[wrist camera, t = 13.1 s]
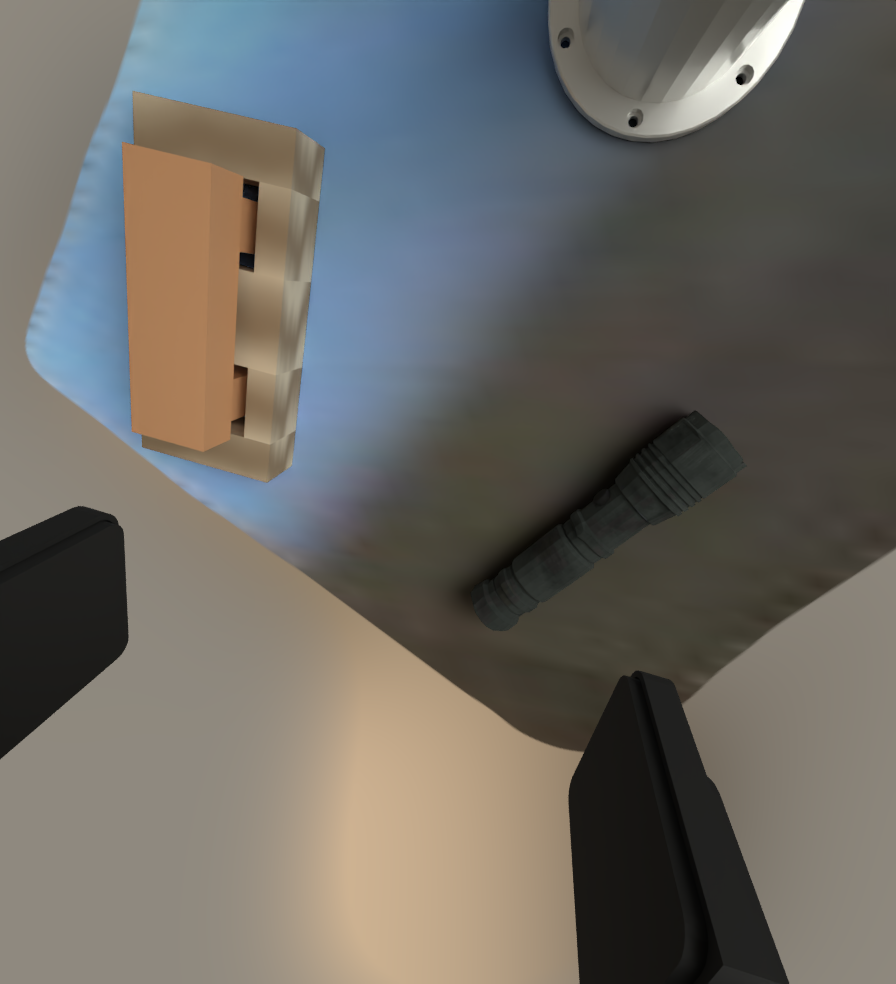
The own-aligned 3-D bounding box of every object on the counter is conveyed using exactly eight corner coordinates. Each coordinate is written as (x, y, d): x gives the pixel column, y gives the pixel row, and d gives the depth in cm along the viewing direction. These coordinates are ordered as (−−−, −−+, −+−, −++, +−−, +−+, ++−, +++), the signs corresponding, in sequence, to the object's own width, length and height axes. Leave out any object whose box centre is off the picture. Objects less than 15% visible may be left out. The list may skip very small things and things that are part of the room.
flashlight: (732, 452, 34) (762, 476, 29) (511, 612, 42) (508, 651, 37) (686, 401, 33) (709, 417, 29) (470, 573, 41) (462, 607, 36)
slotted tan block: (179, 114, 32) (132, 90, 28) (324, 148, 31) (296, 128, 28) (177, 433, 41) (142, 447, 37) (291, 465, 40) (266, 482, 36)
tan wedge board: (214, 176, 33) (122, 141, 26) (284, 193, 33) (211, 163, 25) (207, 406, 39) (131, 431, 32) (266, 422, 39) (203, 451, 31)
